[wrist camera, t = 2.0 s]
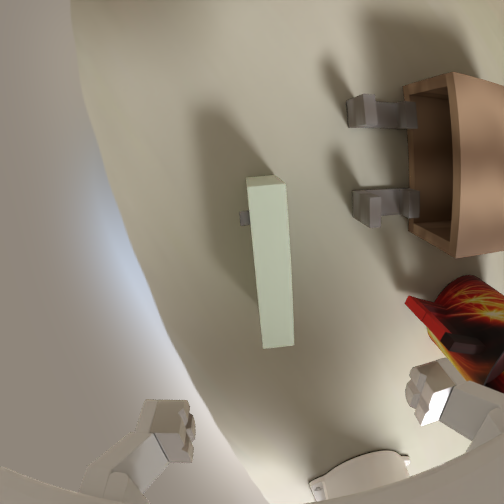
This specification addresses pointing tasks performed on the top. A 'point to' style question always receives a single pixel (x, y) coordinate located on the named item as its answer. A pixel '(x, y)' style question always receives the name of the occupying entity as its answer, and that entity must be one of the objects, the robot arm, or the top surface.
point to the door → (271, 258)
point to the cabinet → (442, 162)
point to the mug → (467, 328)
